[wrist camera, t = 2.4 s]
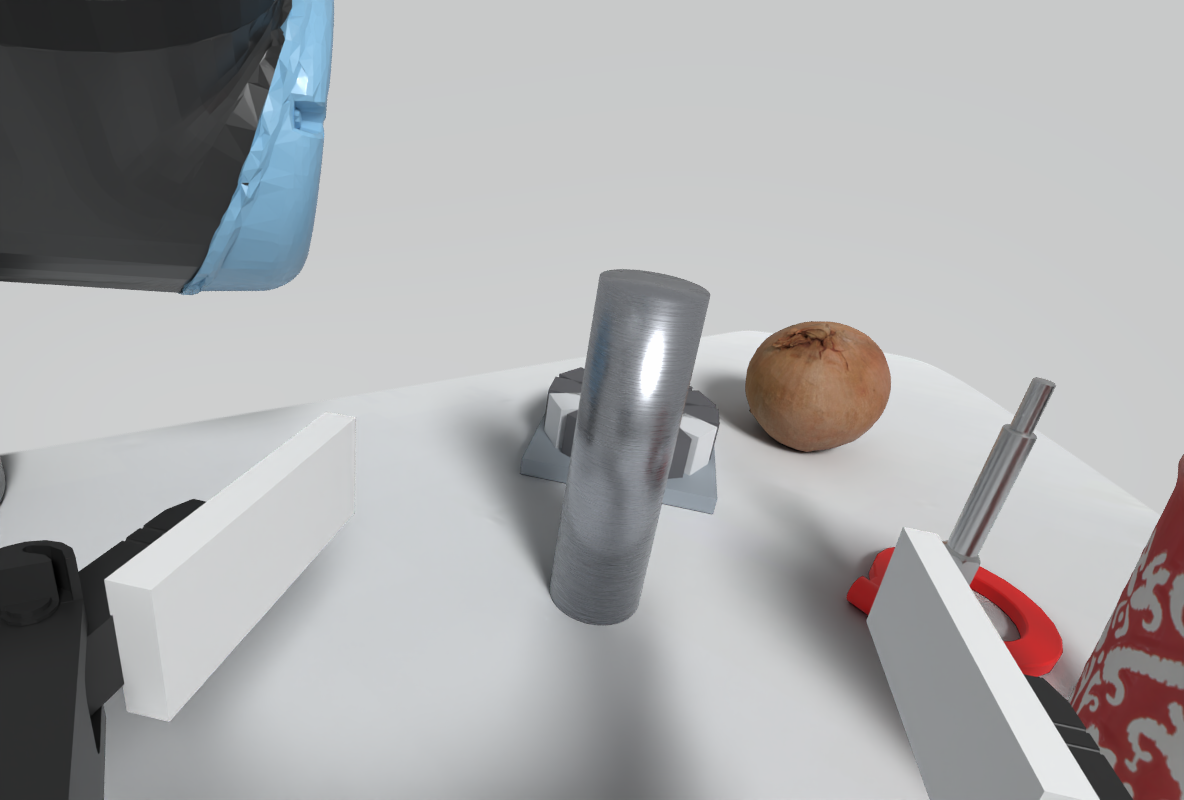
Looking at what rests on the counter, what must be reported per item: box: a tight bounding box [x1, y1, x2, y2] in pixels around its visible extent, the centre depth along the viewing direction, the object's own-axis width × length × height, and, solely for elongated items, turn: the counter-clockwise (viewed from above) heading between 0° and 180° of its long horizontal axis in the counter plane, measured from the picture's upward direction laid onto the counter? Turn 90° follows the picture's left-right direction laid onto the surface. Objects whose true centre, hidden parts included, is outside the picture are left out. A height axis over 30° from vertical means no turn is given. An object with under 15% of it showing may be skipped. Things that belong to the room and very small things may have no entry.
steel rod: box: [550, 269, 710, 625], centre depth 27 cm, size 4×4×14 cm
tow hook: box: [847, 377, 1063, 677], centre depth 30 cm, size 8×13×9 cm
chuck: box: [520, 368, 720, 514], centre depth 41 cm, size 11×11×4 cm
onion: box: [745, 321, 891, 452], centre depth 46 cm, size 10×9×10 cm
